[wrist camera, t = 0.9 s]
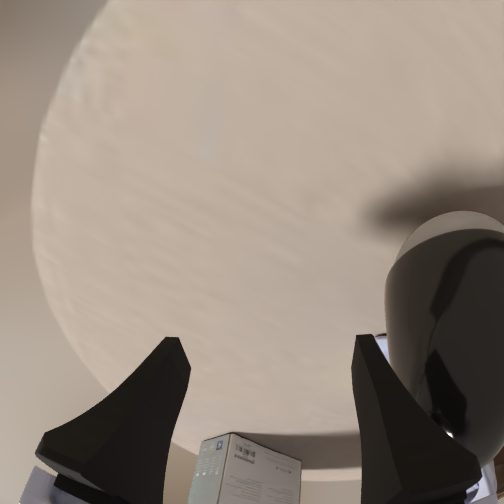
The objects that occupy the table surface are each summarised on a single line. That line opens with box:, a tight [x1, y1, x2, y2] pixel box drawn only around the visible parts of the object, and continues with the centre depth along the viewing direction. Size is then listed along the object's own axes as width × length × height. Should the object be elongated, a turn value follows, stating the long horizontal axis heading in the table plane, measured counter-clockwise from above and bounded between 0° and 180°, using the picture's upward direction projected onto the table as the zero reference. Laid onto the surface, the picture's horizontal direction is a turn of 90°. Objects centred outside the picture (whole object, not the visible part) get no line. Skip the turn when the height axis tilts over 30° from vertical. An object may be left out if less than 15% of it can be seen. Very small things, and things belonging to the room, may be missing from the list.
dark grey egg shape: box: [385, 211, 504, 469], centre depth 13 cm, size 10×10×15 cm
